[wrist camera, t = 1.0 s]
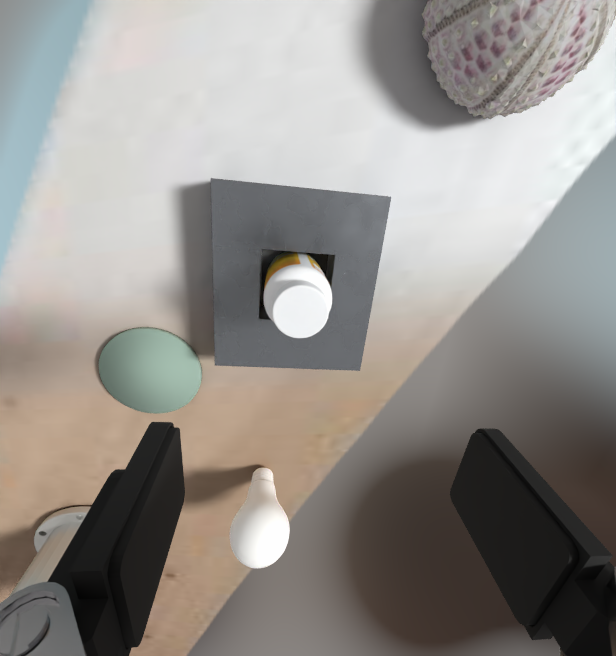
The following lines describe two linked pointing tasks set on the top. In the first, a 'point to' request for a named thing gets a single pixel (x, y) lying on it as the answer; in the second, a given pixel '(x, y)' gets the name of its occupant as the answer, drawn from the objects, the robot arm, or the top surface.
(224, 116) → the top surface
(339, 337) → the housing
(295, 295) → the supplement bottle
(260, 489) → the lightbulb
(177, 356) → the pad
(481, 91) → the sea urchin shell
